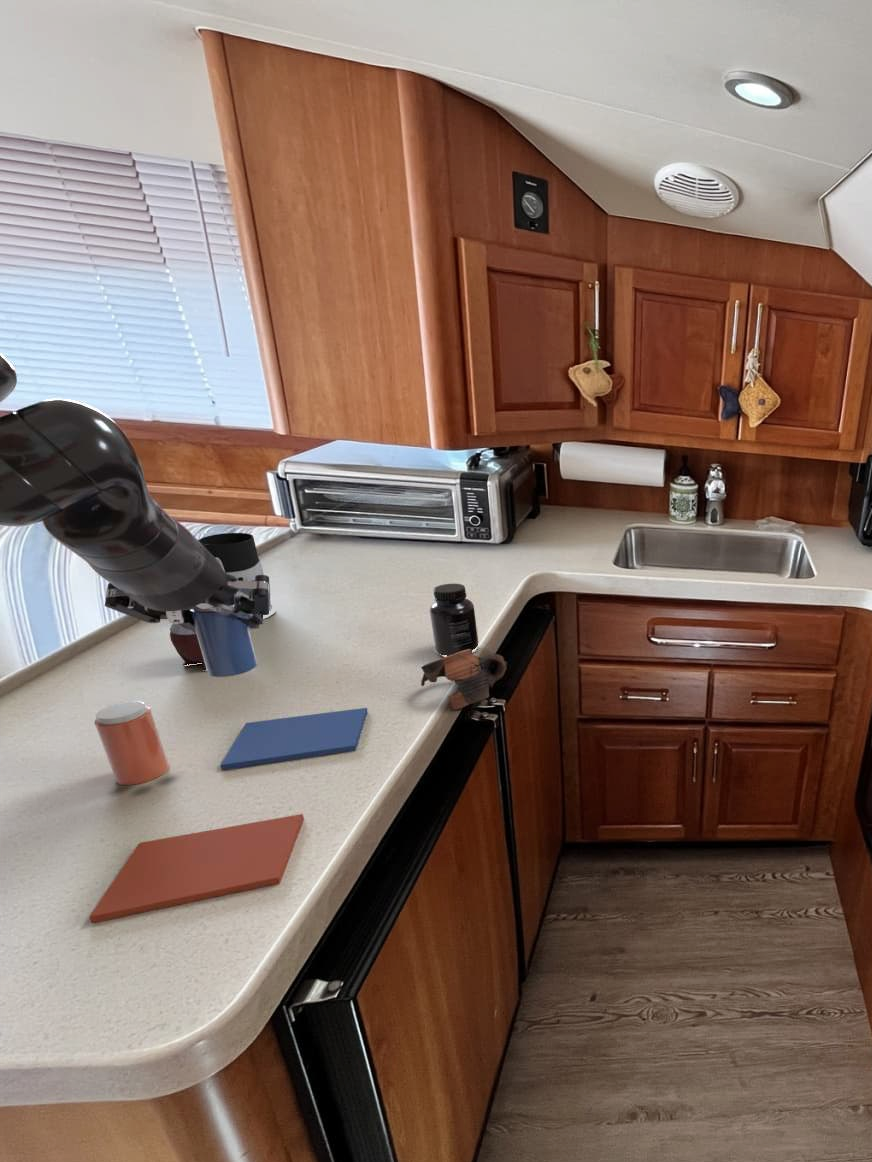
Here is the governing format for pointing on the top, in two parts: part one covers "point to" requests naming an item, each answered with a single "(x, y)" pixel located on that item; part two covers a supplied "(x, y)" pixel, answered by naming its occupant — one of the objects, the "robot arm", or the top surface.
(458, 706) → the pottery mug
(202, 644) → the cylinder
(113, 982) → the top surface
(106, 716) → the cylinder
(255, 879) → the terracotta mat
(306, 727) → the blue mat
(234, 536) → the grey coffee mug
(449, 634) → the supplement bottle
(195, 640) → the mate gourd
